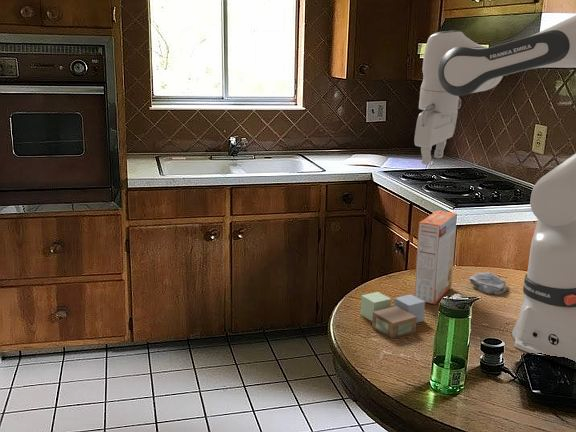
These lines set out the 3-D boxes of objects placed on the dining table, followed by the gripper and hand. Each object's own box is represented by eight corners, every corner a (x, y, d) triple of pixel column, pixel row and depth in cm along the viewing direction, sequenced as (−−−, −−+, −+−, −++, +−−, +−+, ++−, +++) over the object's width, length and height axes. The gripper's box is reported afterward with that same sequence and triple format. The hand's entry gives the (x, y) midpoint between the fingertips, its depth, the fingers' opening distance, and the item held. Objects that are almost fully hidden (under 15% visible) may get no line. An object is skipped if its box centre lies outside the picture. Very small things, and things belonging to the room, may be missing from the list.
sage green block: (389, 318, 155) (391, 298, 153) (373, 322, 152) (374, 302, 151) (376, 310, 159) (378, 291, 157) (360, 314, 156) (361, 295, 155)
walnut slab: (416, 333, 148) (417, 317, 146) (391, 340, 144) (393, 323, 143) (395, 321, 153) (396, 305, 152) (371, 328, 150) (372, 312, 149)
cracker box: (430, 283, 177) (436, 209, 171) (451, 288, 174) (459, 212, 169) (411, 300, 165) (417, 221, 160) (434, 305, 162) (441, 225, 157)
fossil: (514, 285, 170) (477, 277, 169) (509, 300, 170) (472, 291, 170) (500, 274, 181) (466, 266, 181) (496, 288, 182) (462, 280, 181)
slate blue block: (423, 321, 154) (425, 301, 152) (407, 325, 151) (408, 305, 150) (409, 313, 158) (410, 294, 156) (393, 317, 155) (394, 298, 154)
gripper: (438, 107, 142) (431, 169, 146) (463, 100, 159) (456, 156, 163) (410, 105, 145) (405, 165, 149) (438, 98, 162) (432, 152, 166)
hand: (432, 160), depth 156 cm, fingers open, 8 cm apart
